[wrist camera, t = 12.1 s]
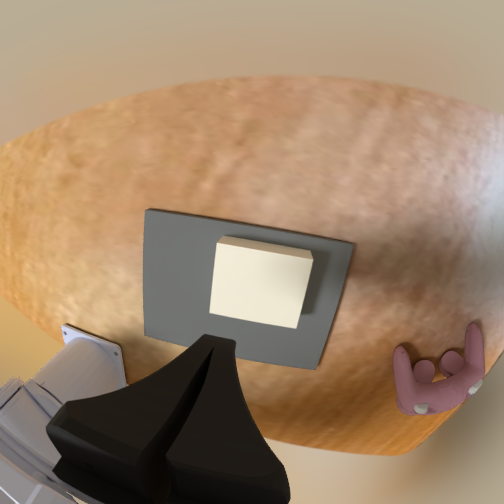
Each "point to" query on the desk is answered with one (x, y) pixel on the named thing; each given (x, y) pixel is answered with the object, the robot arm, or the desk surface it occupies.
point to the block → (259, 281)
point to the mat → (200, 286)
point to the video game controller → (444, 391)
